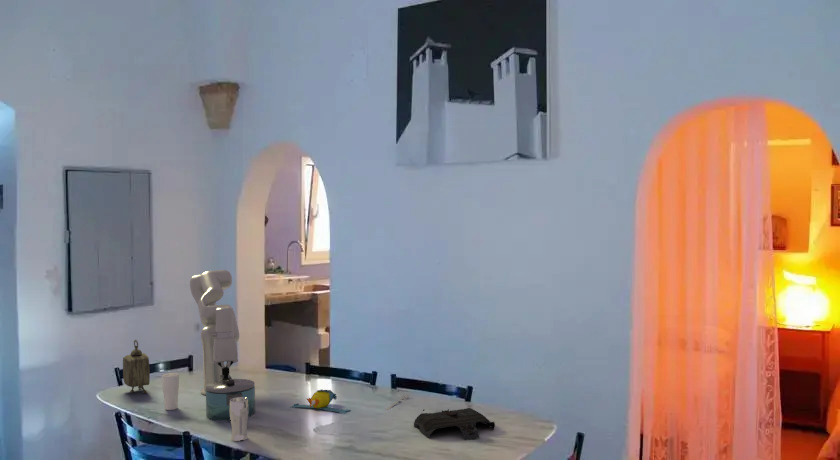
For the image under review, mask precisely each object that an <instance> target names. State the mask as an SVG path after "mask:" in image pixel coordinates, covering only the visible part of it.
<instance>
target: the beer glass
mask: <svg viewBox="0 0 840 460" xmlns="http://www.w3.org/2000/svg"><path fill="white" fill-rule="evenodd" d="M248 411H249V409H248V398H245V397H237V398H232V399H230V406H229V413H230V420H231V421H230V425H231V437H230V440H231V441H232V440H233V441H232V442H235V441H239V442H241V441H240V440H244V441H246V440H245V439H247V438H249V435H248V429H247V428H248V427H247V426H248V421H249V420H248V419H249V417H248ZM247 440H248V439H247Z"/></svg>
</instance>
